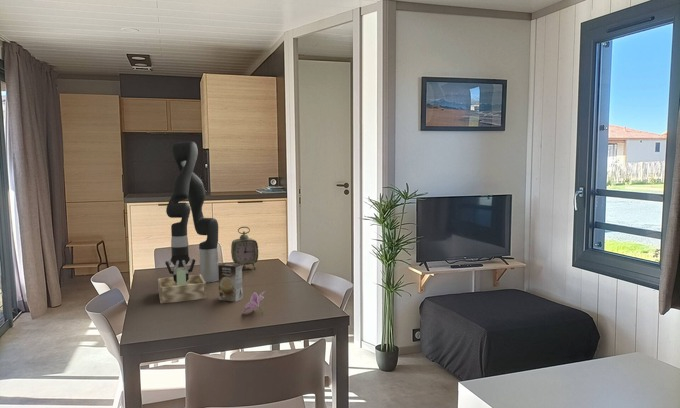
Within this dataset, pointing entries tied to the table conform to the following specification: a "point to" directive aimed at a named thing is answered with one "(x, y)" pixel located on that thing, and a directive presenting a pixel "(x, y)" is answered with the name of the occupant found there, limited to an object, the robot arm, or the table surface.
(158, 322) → the table surface
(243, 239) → the tabletop clock
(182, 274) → the peg
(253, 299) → the lily
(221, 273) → the coffee box
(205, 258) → the robot arm
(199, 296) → the box
